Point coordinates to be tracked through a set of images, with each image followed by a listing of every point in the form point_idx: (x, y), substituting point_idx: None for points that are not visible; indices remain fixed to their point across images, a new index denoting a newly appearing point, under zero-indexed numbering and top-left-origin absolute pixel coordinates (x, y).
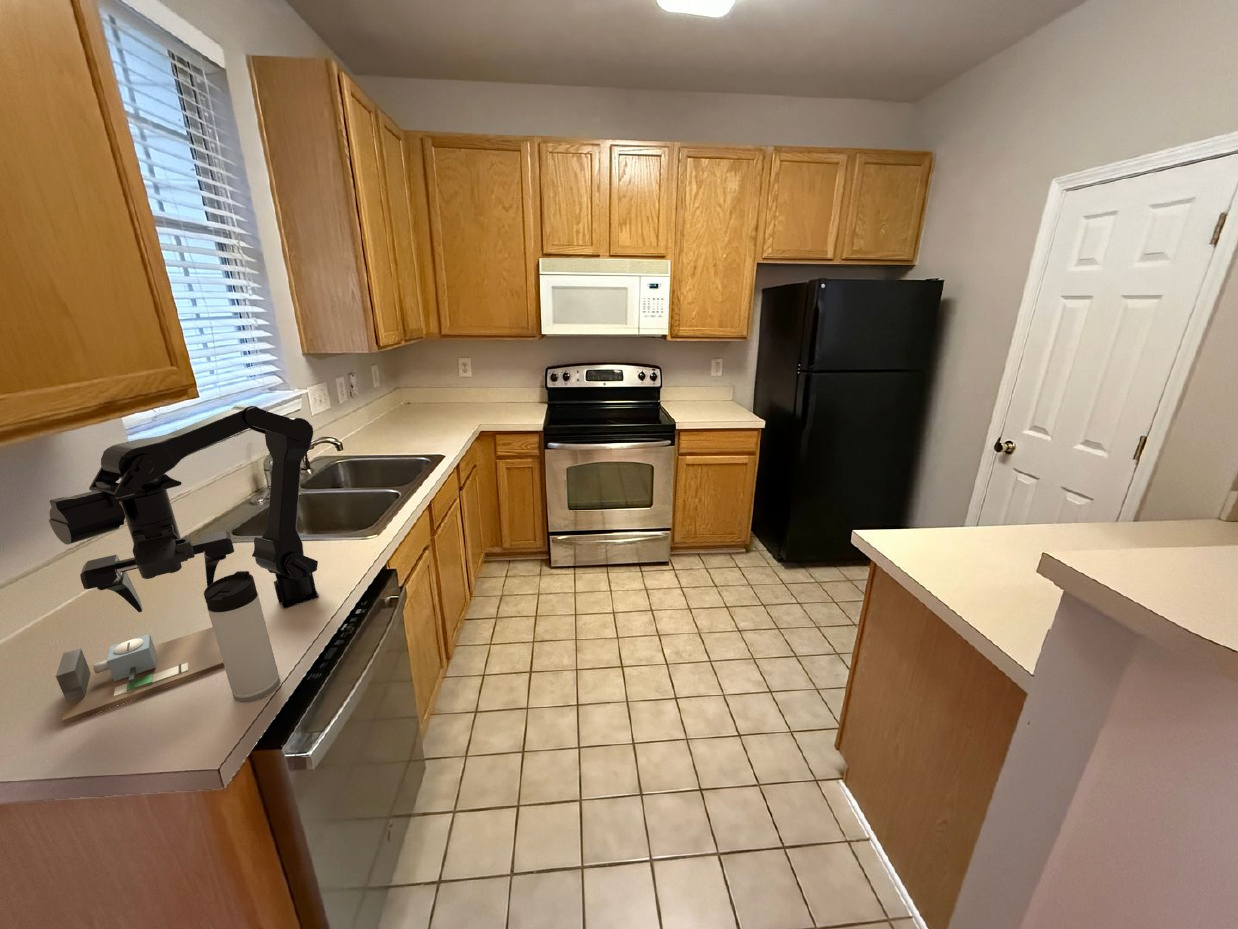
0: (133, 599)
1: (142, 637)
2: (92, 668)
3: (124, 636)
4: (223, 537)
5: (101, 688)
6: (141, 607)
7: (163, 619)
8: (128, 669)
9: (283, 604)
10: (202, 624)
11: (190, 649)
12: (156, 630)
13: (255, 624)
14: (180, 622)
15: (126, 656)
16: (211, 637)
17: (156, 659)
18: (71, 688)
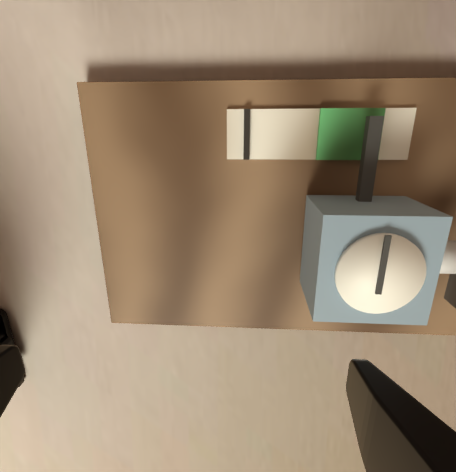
0: (434, 452)
1: (335, 310)
2: (437, 318)
3: (354, 432)
4: None
5: (434, 189)
6: (354, 391)
7: (277, 450)
8: (375, 200)
9: (1, 325)
10: (198, 370)
11: (220, 240)
12: (293, 412)
13: None
14: (244, 413)
15: (390, 215)
16: (169, 269)
17: (301, 249)
18: None
